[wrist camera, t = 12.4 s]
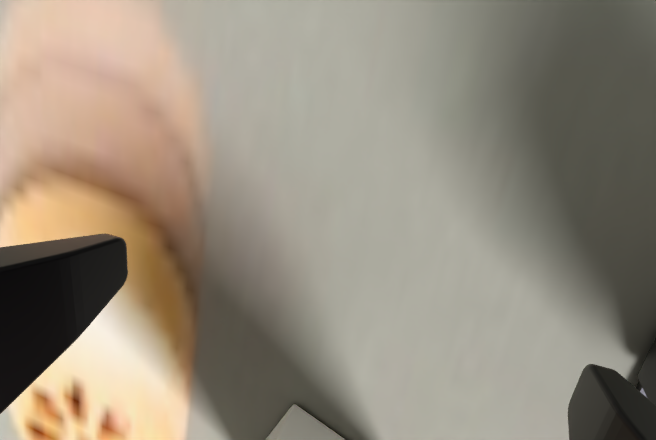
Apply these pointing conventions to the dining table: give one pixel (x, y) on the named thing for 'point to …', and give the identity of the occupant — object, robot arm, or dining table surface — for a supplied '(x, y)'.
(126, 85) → the dining table surface
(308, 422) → the milk carton
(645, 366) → the robot arm
